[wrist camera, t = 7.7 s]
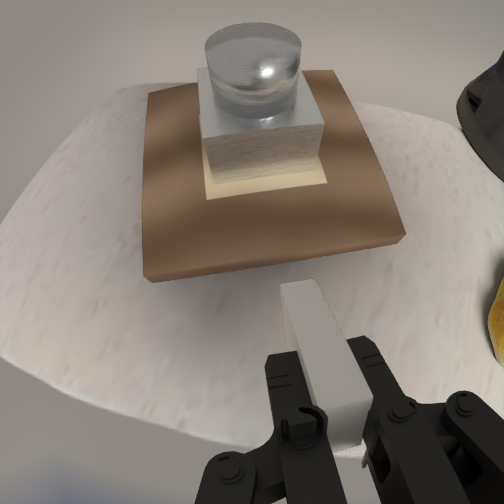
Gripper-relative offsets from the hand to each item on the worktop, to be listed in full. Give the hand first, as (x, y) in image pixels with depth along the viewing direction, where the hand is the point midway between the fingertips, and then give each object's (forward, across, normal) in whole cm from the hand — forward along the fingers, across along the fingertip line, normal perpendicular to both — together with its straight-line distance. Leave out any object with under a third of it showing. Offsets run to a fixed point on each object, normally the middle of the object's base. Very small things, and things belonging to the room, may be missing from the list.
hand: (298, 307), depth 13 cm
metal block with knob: (+11, 0, +6) cm, 12 cm away
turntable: (+11, 0, +5) cm, 12 cm away
